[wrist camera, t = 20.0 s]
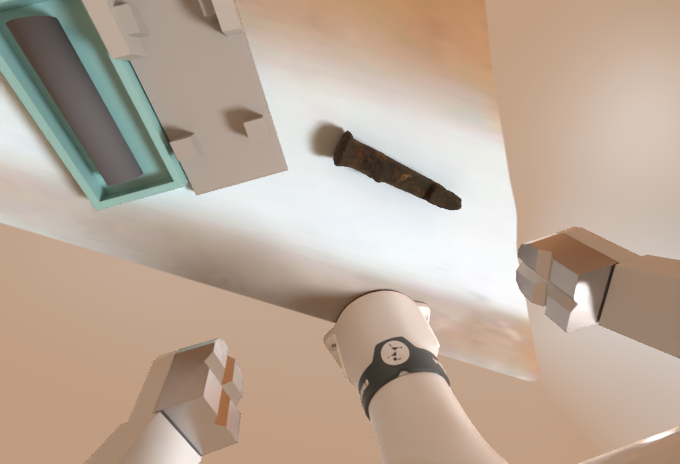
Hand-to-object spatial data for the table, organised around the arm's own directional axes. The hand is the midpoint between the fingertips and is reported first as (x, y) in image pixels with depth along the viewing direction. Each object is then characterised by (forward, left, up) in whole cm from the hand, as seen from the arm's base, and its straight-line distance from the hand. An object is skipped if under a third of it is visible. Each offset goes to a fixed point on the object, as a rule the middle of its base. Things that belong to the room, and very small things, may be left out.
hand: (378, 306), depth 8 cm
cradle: (+7, +8, -31) cm, 33 cm away
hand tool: (-8, -12, -32) cm, 35 cm away
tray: (+7, +18, -31) cm, 37 cm away
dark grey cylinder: (+7, +18, -30) cm, 36 cm away
